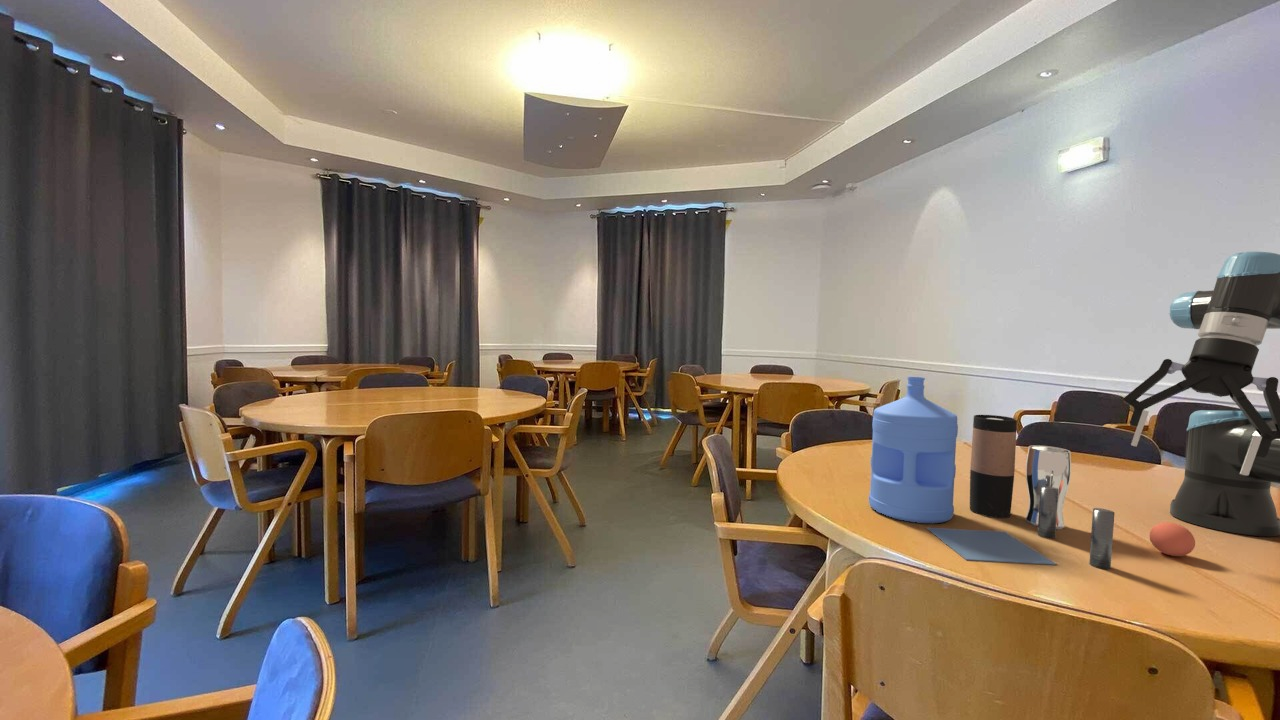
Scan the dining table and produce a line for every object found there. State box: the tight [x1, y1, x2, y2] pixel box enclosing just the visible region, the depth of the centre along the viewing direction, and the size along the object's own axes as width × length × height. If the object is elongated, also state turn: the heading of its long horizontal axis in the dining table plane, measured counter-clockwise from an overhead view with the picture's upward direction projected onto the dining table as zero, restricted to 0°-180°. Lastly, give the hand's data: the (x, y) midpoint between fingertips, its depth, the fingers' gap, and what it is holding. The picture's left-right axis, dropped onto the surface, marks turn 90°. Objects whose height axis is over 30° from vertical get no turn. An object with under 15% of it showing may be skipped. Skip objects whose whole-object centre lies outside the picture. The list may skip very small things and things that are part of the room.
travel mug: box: [969, 414, 1018, 519], centre depth 110 cm, size 8×8×20 cm
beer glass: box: [1025, 444, 1072, 531], centre depth 104 cm, size 7×7×15 cm
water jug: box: [868, 376, 959, 524], centre depth 109 cm, size 16×16×28 cm
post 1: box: [1037, 486, 1058, 540], centre depth 97 cm, size 3×3×9 cm
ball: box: [1149, 521, 1196, 557], centre depth 90 cm, size 6×6×6 cm
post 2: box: [1089, 507, 1115, 570], centre depth 85 cm, size 3×3×9 cm
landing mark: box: [926, 527, 1058, 566], centre depth 93 cm, size 14×14×1 cm
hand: (1185, 459), depth 91 cm, fingers open, 13 cm apart
